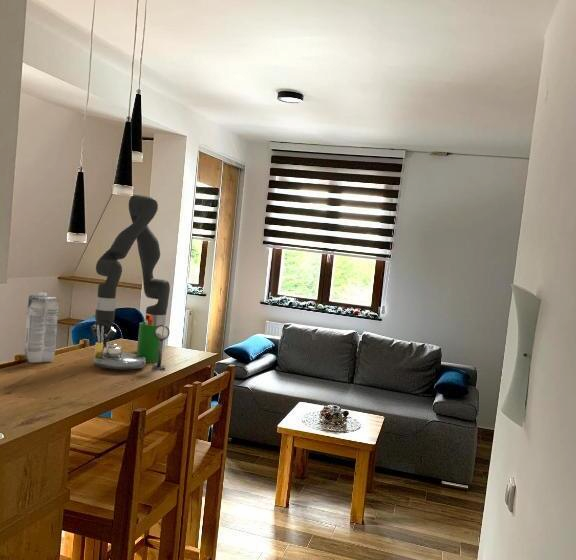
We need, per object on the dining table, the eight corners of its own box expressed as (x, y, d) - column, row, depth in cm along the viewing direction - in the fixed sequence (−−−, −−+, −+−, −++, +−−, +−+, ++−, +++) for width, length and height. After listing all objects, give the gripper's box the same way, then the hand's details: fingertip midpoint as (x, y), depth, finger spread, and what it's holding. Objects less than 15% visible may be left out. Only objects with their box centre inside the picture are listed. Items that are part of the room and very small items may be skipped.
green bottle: (162, 359, 272) (166, 314, 271) (156, 363, 263) (160, 316, 262) (140, 356, 273) (143, 311, 272) (132, 360, 264) (136, 313, 263)
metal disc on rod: (151, 366, 256) (155, 323, 255) (166, 367, 257) (170, 324, 256) (151, 369, 251) (154, 325, 250) (166, 370, 252) (170, 326, 251)
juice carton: (55, 362, 246) (60, 294, 245) (27, 363, 240) (32, 294, 239) (49, 358, 254) (54, 292, 252) (22, 358, 248) (27, 291, 246)
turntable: (137, 358, 263) (139, 338, 262) (151, 368, 245) (153, 347, 245) (89, 358, 253) (90, 337, 253) (99, 369, 236) (101, 347, 235)
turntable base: (118, 363, 256) (118, 360, 256) (137, 367, 252) (137, 365, 252) (100, 366, 247) (101, 363, 247) (120, 371, 243) (120, 368, 243)
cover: (111, 353, 256) (112, 341, 255) (124, 356, 252) (125, 344, 252) (99, 355, 249) (100, 343, 249) (112, 358, 246) (113, 346, 246)
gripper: (124, 310, 252) (120, 352, 254) (100, 305, 258) (96, 347, 260) (111, 311, 246) (107, 354, 247) (86, 306, 252) (82, 349, 253)
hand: (101, 350), depth 253 cm, fingers closed
